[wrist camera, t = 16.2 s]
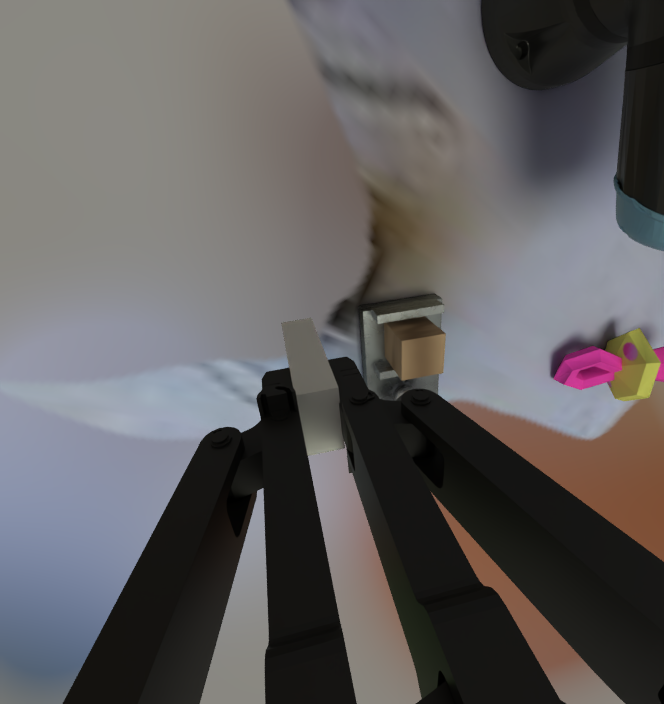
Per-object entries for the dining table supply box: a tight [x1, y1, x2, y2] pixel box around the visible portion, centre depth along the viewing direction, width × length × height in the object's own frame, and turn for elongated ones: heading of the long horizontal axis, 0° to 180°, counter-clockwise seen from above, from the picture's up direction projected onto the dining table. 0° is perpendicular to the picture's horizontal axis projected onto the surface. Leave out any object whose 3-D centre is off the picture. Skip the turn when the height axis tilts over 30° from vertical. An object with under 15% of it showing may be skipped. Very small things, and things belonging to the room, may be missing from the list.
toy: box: [554, 328, 664, 401], centre depth 52 cm, size 10×18×10 cm, turn 98°
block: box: [384, 316, 446, 381], centre depth 43 cm, size 5×5×6 cm
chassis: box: [359, 294, 444, 401], centre depth 47 cm, size 10×16×4 cm, turn 6°
